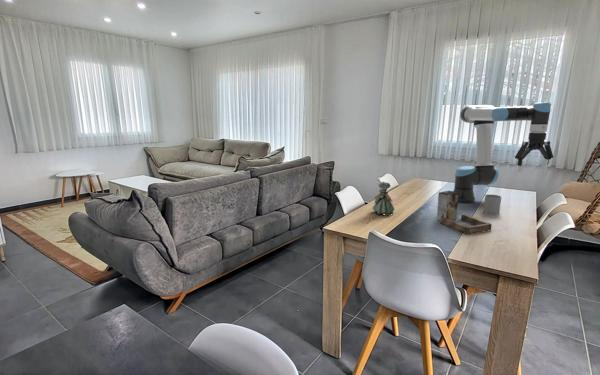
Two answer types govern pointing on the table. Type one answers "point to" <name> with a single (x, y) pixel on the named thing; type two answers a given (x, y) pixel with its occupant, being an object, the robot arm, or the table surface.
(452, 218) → the coffee box
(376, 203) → the figurine
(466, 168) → the robot arm
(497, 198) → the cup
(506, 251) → the table surface
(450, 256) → the table surface
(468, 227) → the cradle
